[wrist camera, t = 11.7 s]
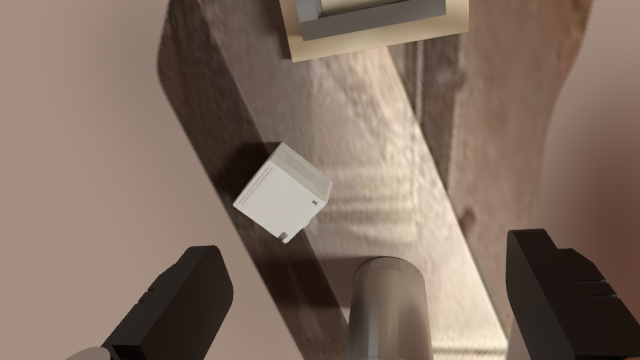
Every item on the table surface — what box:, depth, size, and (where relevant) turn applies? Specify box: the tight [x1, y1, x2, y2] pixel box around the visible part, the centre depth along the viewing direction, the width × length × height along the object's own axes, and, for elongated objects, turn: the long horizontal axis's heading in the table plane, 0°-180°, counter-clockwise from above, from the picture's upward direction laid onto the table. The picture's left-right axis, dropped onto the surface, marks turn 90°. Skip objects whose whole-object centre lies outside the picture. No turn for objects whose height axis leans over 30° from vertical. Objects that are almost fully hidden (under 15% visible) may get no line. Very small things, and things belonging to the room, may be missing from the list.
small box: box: [233, 142, 333, 243], centre depth 42 cm, size 8×8×5 cm
